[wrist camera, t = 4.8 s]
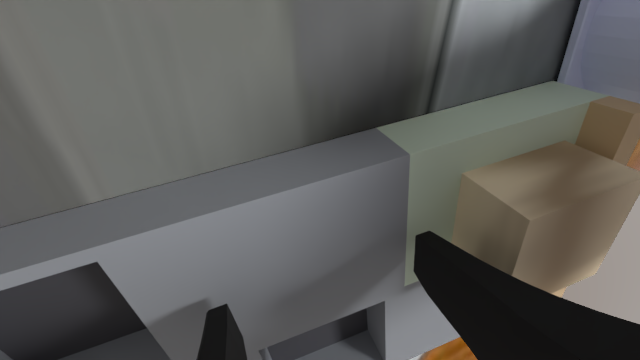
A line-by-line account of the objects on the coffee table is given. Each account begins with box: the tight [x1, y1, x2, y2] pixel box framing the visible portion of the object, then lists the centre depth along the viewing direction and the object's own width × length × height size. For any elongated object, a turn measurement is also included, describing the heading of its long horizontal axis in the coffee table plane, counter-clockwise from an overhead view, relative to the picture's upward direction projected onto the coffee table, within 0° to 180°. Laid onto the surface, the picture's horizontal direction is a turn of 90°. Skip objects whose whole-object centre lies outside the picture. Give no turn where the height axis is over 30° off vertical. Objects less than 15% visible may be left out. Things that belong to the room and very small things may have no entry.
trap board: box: [0, 81, 640, 360], centre depth 14 cm, size 26×14×4 cm, turn 97°
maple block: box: [451, 141, 640, 293], centre depth 13 cm, size 5×5×3 cm
